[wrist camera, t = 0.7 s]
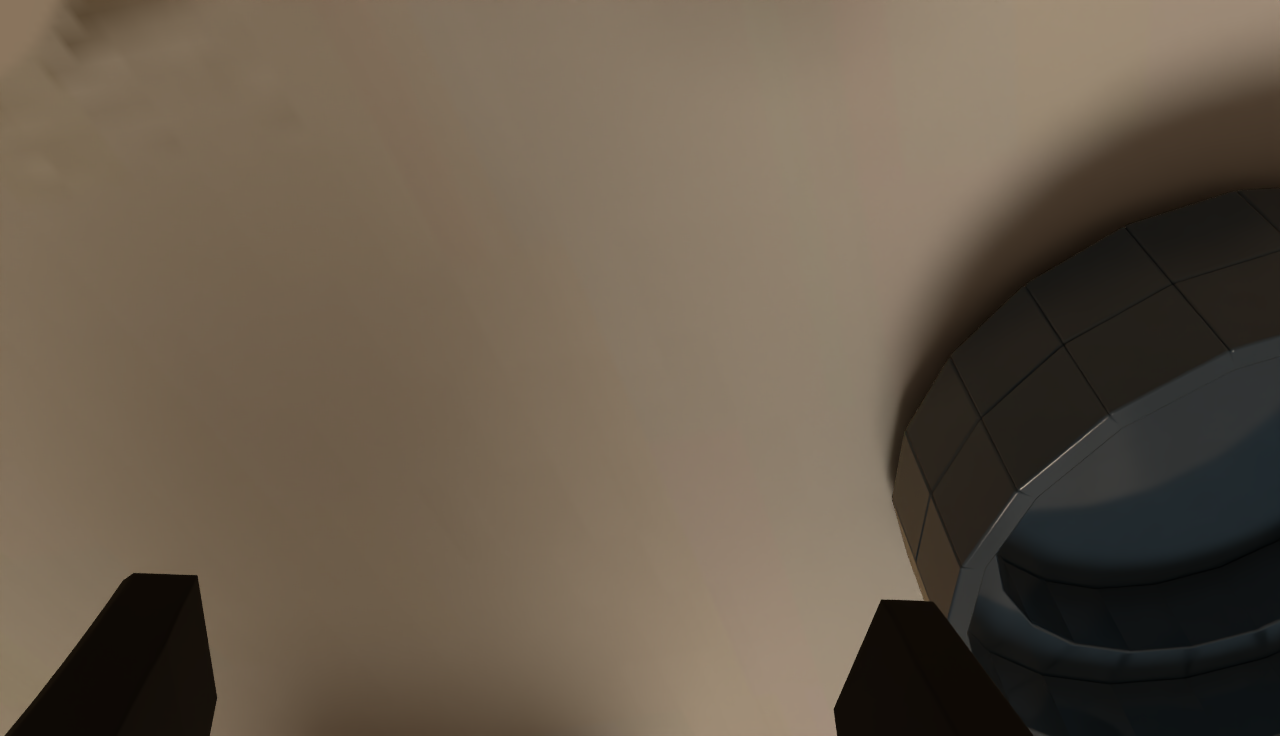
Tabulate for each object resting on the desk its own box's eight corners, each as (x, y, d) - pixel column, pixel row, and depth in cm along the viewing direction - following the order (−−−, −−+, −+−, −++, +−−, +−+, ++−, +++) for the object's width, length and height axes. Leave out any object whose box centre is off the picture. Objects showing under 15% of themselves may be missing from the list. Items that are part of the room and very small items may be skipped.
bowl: (1334, 592, 28) (1446, 741, 25) (857, 627, 28) (904, 786, 24) (1598, 152, 20) (1818, 282, 17) (935, 188, 20) (1021, 330, 16)
